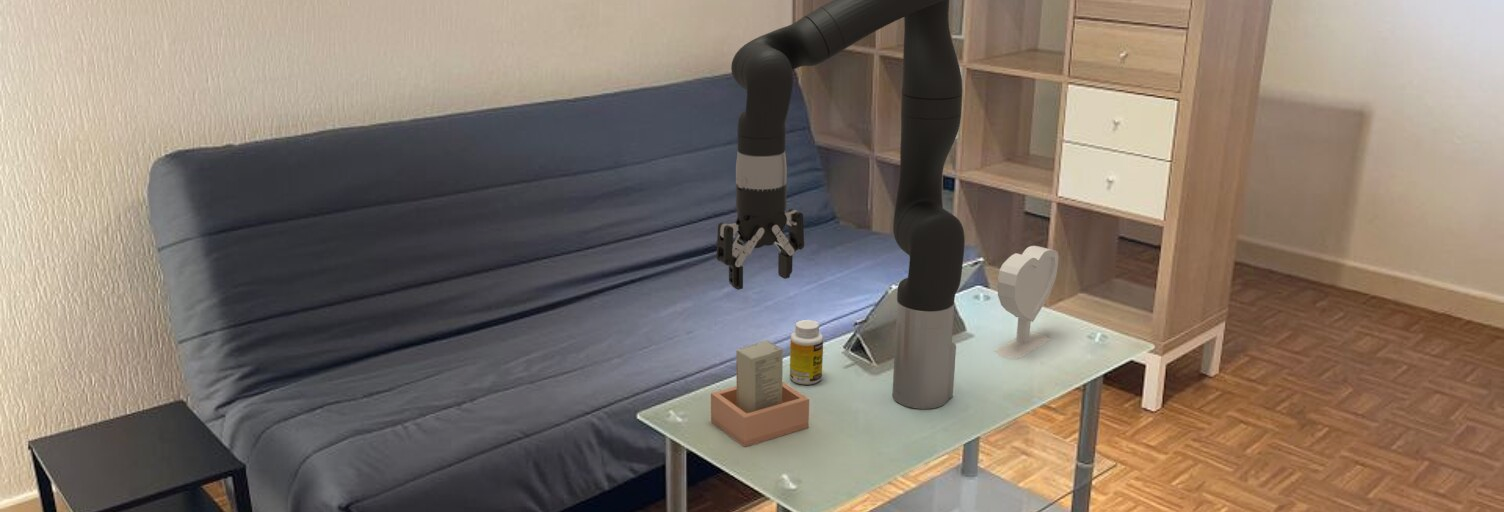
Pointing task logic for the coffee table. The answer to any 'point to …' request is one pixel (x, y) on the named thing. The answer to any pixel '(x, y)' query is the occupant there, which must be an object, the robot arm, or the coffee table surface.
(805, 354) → the supplement bottle
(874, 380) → the coffee table surface
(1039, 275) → the heart sculpture
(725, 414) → the box
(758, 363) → the skincare box
